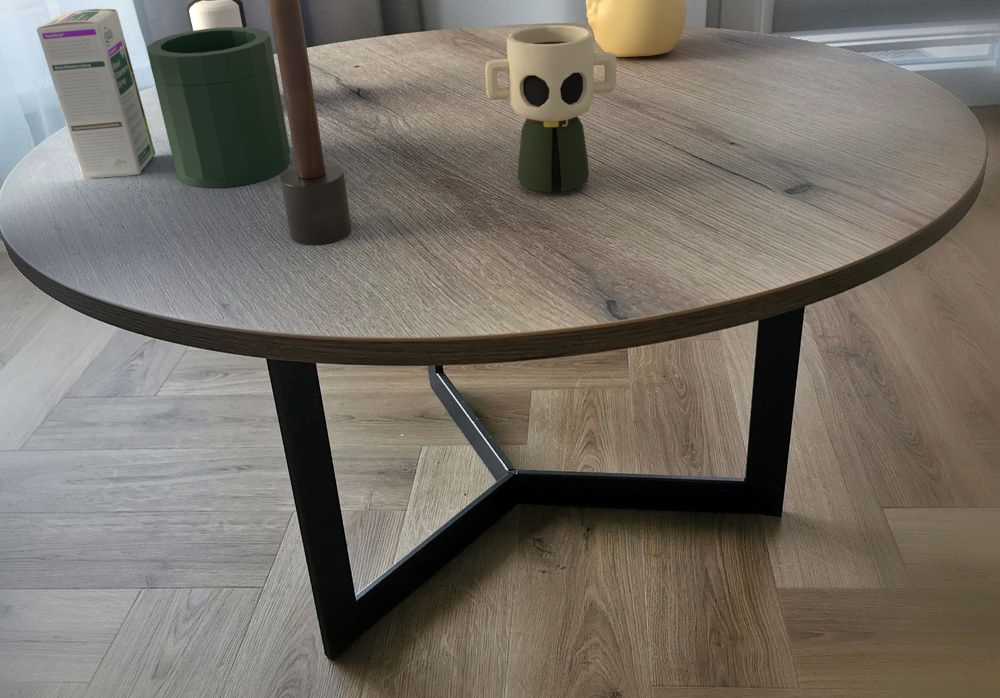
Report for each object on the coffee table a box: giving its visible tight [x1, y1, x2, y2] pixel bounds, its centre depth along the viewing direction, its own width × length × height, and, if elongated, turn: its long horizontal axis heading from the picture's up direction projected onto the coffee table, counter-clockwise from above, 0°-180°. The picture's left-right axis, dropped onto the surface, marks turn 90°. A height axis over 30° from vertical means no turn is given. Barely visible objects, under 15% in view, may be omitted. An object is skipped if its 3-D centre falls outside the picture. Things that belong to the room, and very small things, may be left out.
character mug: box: [484, 24, 617, 193], centre depth 81 cm, size 11×7×13 cm, turn 92°
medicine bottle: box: [185, 0, 248, 31], centre depth 107 cm, size 7×7×12 cm
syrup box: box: [35, 8, 156, 179], centre depth 91 cm, size 6×6×14 cm
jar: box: [146, 27, 292, 189], centre depth 90 cm, size 11×11×12 cm
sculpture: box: [585, 0, 687, 58], centre depth 119 cm, size 12×12×11 cm
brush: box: [267, 0, 353, 246], centre depth 74 cm, size 5×5×19 cm
